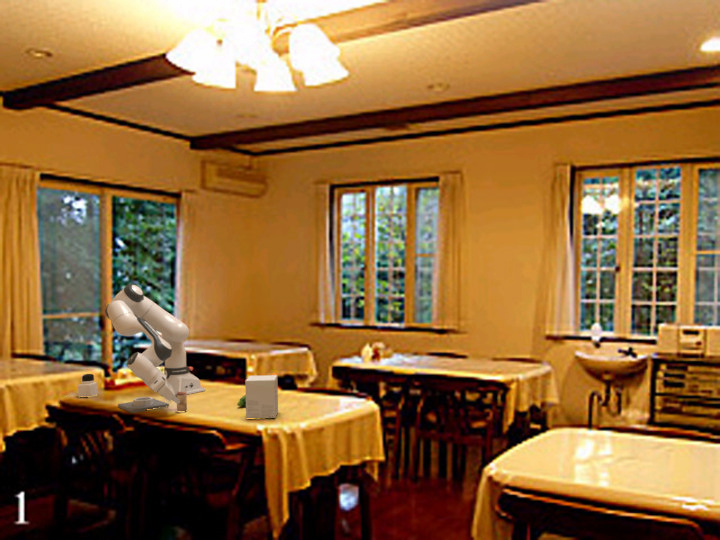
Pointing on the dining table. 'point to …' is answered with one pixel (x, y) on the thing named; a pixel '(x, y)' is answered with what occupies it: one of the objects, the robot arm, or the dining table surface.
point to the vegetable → (242, 402)
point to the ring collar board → (141, 408)
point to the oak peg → (182, 401)
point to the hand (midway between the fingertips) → (178, 400)
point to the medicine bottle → (87, 386)
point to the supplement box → (261, 396)
